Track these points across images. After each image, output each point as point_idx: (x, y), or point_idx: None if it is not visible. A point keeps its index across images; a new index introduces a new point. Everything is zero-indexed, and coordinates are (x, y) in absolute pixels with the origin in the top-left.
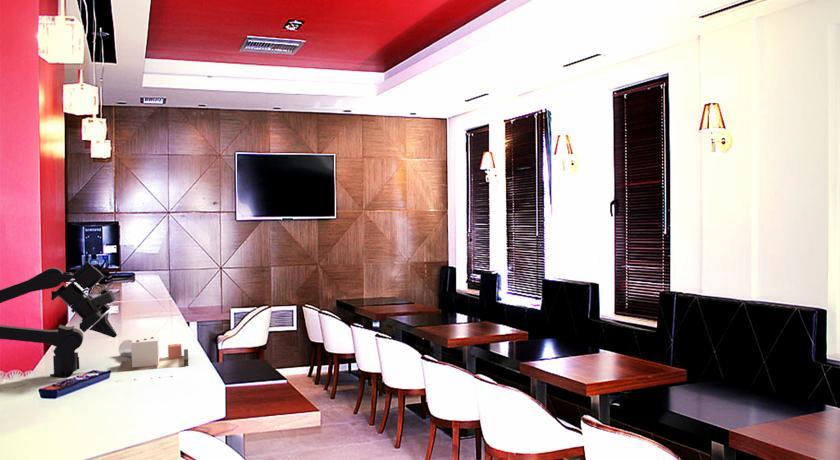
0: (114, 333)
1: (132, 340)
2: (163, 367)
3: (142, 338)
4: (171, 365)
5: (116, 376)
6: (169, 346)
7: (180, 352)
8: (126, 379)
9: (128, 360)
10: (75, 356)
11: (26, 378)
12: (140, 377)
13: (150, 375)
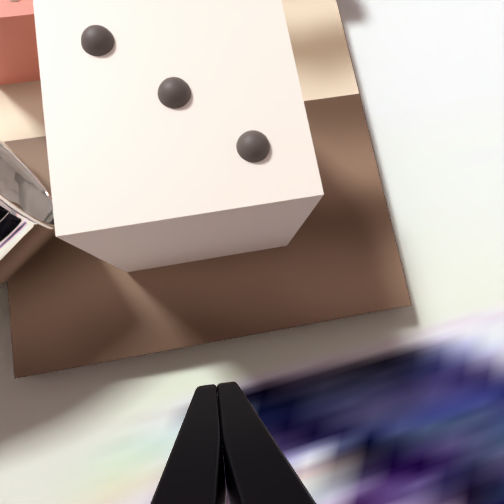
0: (254, 414)
1: (164, 217)
2: (335, 63)
3: (64, 137)
4: (290, 30)
5: (403, 310)
6: (31, 4)
7: None
8: (491, 231)
9: (21, 332)
10: None
11: None
12: (455, 168)
13: (415, 127)
